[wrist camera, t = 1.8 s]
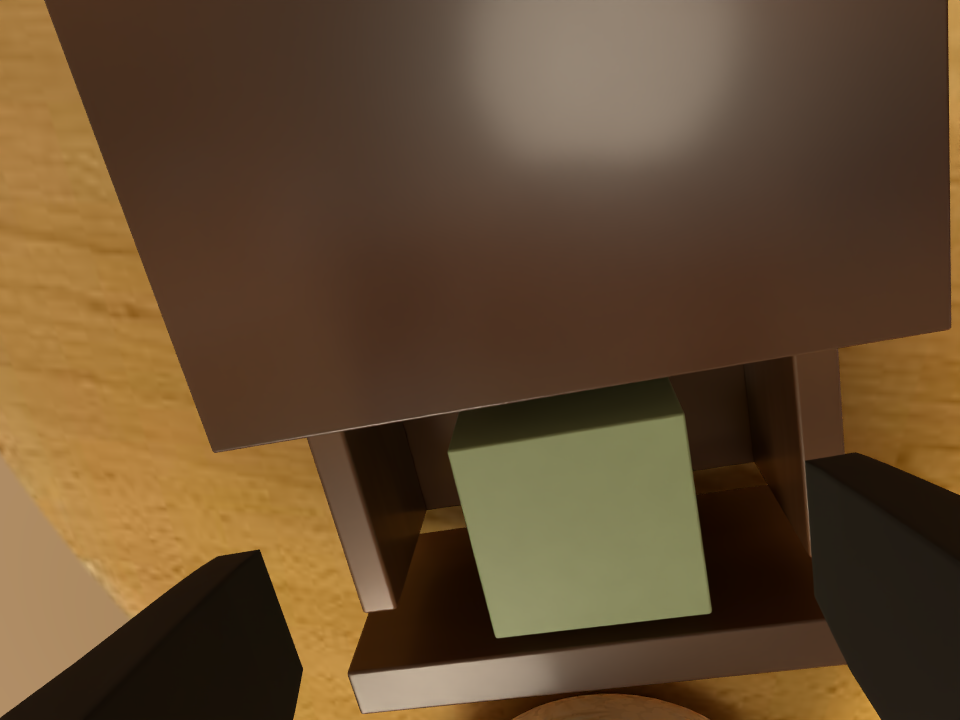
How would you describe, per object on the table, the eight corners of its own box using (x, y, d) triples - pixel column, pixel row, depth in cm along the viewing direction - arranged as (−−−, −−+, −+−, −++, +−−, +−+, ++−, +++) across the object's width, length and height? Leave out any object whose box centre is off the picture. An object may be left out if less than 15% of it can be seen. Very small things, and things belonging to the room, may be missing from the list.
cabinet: (801, 246, 18) (953, 330, 11) (325, 336, 20) (212, 454, 13) (766, -206, 15) (945, -462, 8) (210, -47, 17) (-14, -148, 10)
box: (675, 498, 18) (712, 614, 14) (506, 522, 19) (495, 639, 15) (651, 337, 17) (684, 412, 13) (470, 369, 17) (446, 451, 13)
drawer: (811, 554, 20) (902, 707, 15) (414, 604, 21) (374, 755, 16) (782, 204, 17) (883, 245, 12) (323, 295, 18) (239, 366, 13)
